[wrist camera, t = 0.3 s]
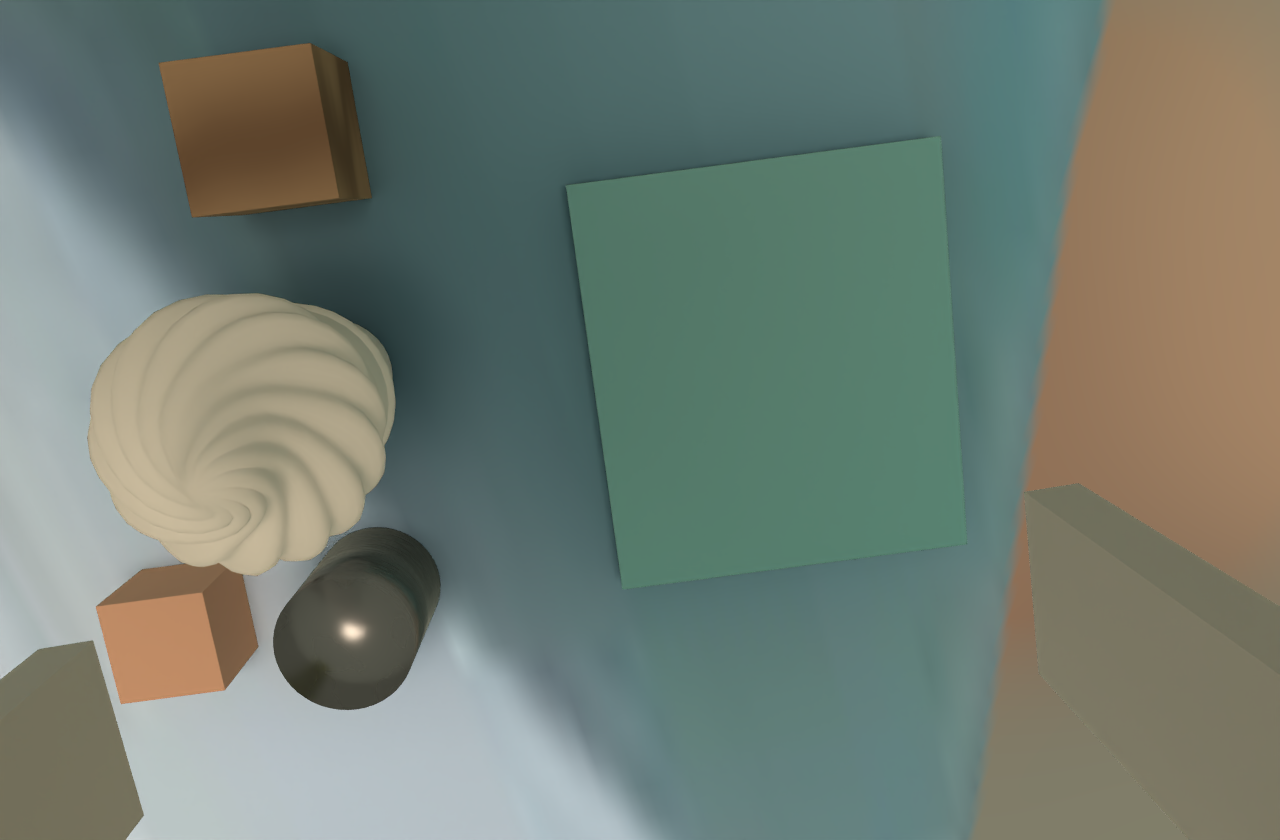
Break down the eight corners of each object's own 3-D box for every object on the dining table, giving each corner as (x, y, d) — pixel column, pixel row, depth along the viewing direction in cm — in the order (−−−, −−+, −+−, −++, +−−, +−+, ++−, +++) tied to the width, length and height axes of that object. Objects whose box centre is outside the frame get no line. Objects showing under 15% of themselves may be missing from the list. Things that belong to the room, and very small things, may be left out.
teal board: (567, 186, 40) (565, 185, 38) (928, 138, 40) (940, 136, 38) (621, 576, 43) (622, 589, 42) (955, 532, 43) (967, 544, 42)
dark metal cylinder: (308, 535, 42) (260, 589, 37) (429, 519, 42) (400, 571, 37) (331, 648, 44) (288, 717, 38) (449, 632, 44) (424, 700, 38)
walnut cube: (215, 79, 39) (158, 62, 34) (347, 62, 39) (310, 43, 34) (243, 214, 40) (192, 217, 35) (372, 198, 40) (339, 198, 35)
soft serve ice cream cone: (217, 449, 42) (-20, 599, 26) (249, 244, 40) (17, 273, 24) (423, 493, 42) (313, 667, 27) (463, 294, 41) (371, 353, 25)
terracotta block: (142, 568, 43) (95, 606, 39) (239, 556, 43) (202, 592, 39) (164, 658, 44) (120, 704, 40) (259, 645, 44) (225, 690, 40)
